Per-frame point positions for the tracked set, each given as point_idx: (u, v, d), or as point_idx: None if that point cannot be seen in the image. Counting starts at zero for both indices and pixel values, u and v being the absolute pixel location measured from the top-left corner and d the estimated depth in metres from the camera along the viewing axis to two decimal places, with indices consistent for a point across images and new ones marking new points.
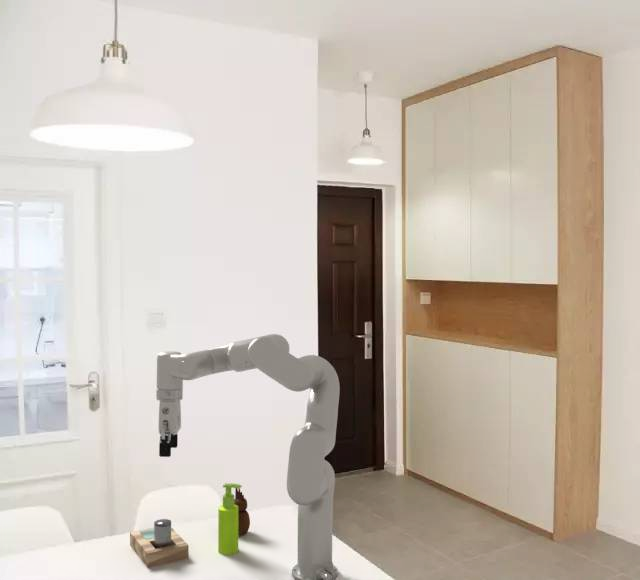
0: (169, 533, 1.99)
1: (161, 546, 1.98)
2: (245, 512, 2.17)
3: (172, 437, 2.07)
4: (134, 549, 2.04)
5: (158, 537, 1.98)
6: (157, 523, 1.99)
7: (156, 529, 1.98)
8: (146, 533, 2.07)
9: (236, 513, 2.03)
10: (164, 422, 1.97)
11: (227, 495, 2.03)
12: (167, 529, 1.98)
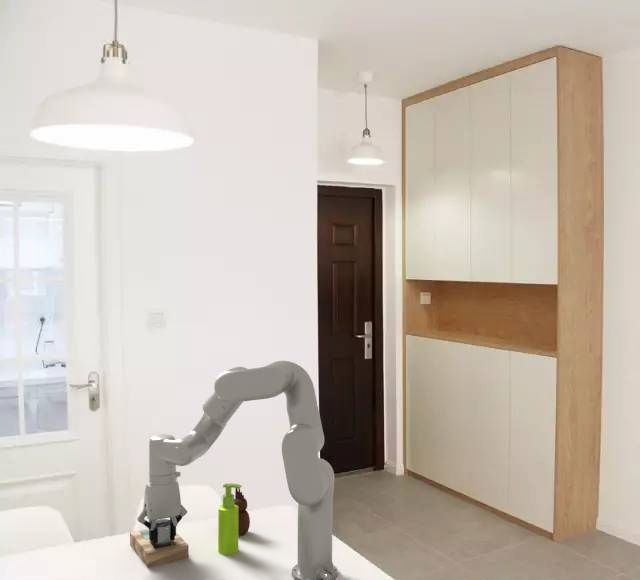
0: (169, 533, 1.99)
1: (161, 546, 1.98)
2: (245, 512, 2.17)
3: None
4: (134, 549, 2.04)
5: (158, 537, 1.98)
6: (157, 523, 1.99)
7: (156, 529, 1.98)
8: (146, 533, 2.07)
9: (236, 513, 2.03)
10: None
11: (227, 495, 2.03)
12: (167, 529, 1.98)
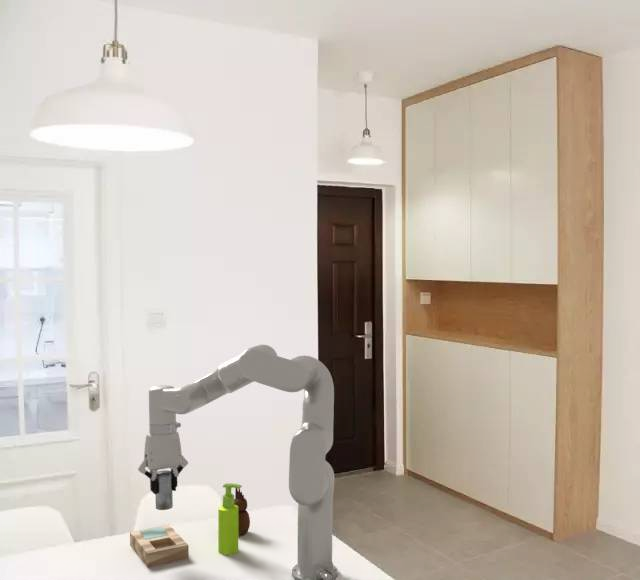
0: (170, 484, 1.99)
1: (162, 496, 1.97)
2: (245, 512, 2.17)
3: None
4: (134, 549, 2.04)
5: (160, 488, 1.97)
6: (158, 473, 1.98)
7: (157, 479, 1.97)
8: (146, 533, 2.07)
9: (236, 513, 2.03)
10: None
11: (227, 495, 2.03)
12: (168, 479, 1.98)
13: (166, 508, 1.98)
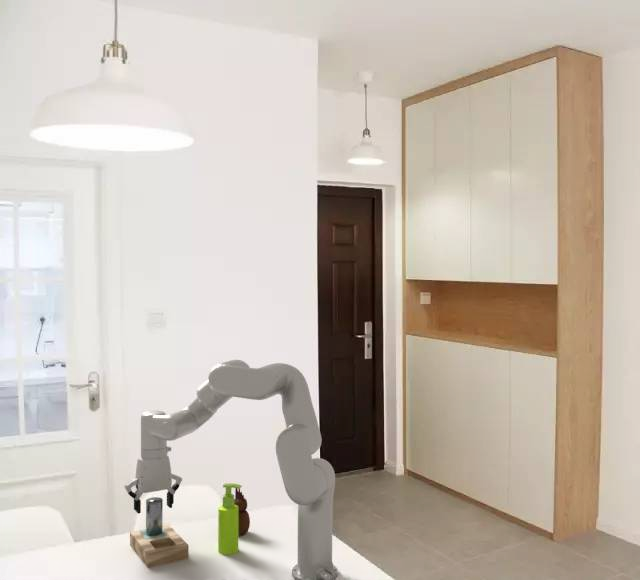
0: (161, 511, 2.06)
1: (153, 523, 2.05)
2: (245, 512, 2.17)
3: None
4: (134, 549, 2.04)
5: (150, 514, 2.05)
6: (149, 501, 2.06)
7: (148, 506, 2.05)
8: None
9: (236, 513, 2.03)
10: (171, 474, 2.09)
11: (227, 495, 2.03)
12: (158, 506, 2.05)
13: (156, 534, 2.05)
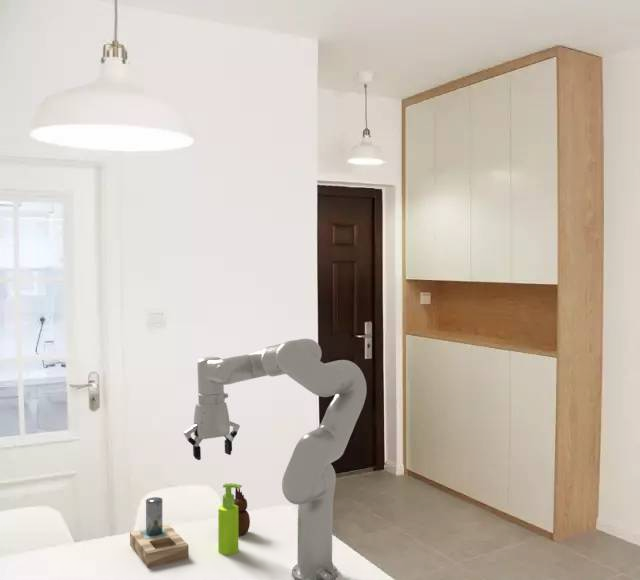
0: (161, 511, 2.06)
1: (152, 523, 2.05)
2: (245, 512, 2.17)
3: None
4: (134, 549, 2.04)
5: (150, 515, 2.05)
6: (149, 501, 2.06)
7: (148, 506, 2.05)
8: None
9: (236, 513, 2.03)
10: None
11: (227, 495, 2.03)
12: (158, 506, 2.05)
13: (156, 534, 2.05)
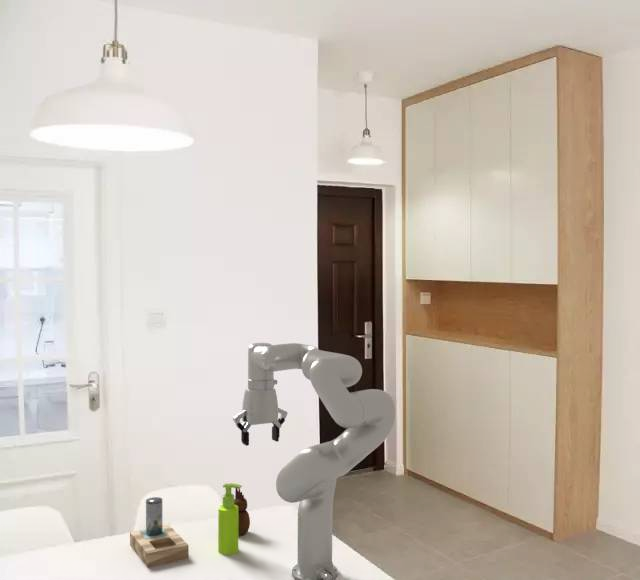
0: (161, 511, 2.06)
1: (153, 523, 2.05)
2: (245, 512, 2.17)
3: None
4: (134, 549, 2.04)
5: (150, 515, 2.05)
6: (149, 501, 2.06)
7: (148, 506, 2.05)
8: None
9: (236, 513, 2.03)
10: (277, 407, 2.06)
11: (227, 495, 2.03)
12: (158, 506, 2.05)
13: (156, 534, 2.05)
